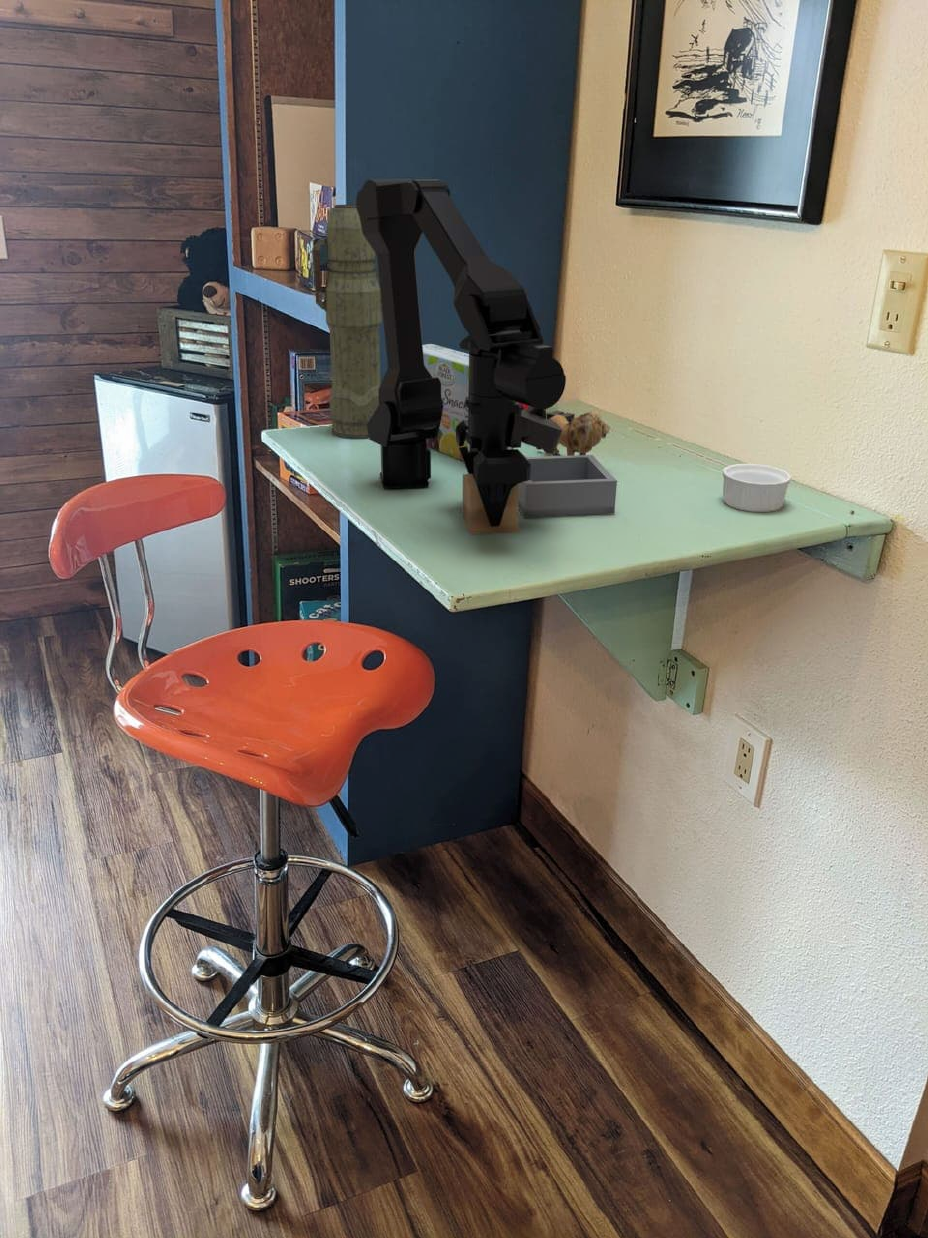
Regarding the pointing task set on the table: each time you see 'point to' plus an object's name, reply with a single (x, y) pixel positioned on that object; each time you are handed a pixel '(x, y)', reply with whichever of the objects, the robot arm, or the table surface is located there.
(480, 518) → the walnut cube
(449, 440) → the snack box
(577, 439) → the lion figurine
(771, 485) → the ramekin
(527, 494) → the grey square tray
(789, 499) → the table surface
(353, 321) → the thermos
